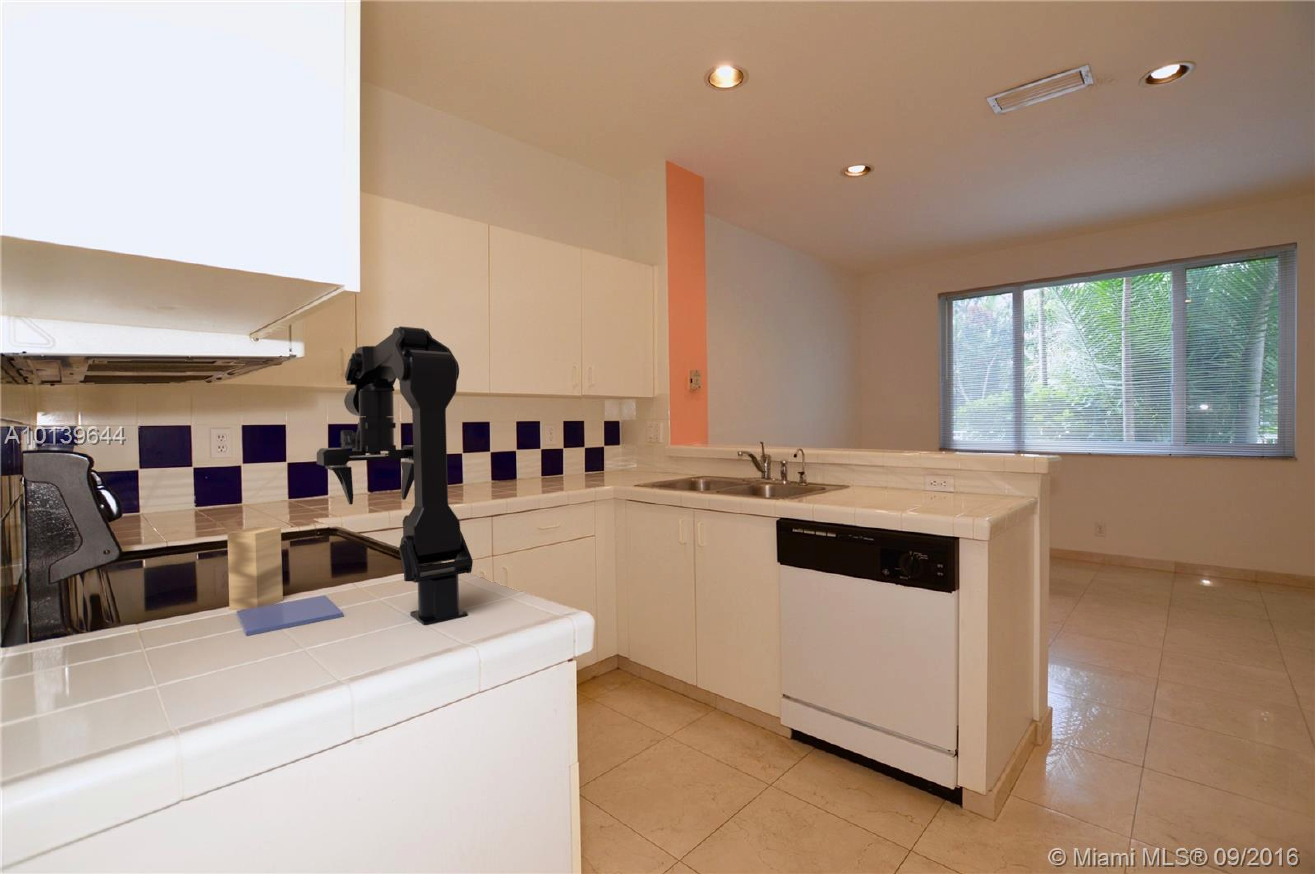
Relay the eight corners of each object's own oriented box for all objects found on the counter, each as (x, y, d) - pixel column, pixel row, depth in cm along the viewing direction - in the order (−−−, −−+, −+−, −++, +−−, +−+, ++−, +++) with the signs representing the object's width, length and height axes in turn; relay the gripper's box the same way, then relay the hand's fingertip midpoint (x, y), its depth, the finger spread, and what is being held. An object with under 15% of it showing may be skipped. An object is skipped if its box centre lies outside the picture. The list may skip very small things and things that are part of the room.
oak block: (282, 600, 98) (280, 527, 97) (257, 610, 93) (255, 533, 92) (256, 599, 99) (254, 527, 98) (229, 609, 94) (227, 532, 93)
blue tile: (343, 616, 89) (343, 612, 89) (246, 635, 82) (246, 631, 82) (325, 598, 98) (325, 595, 98) (236, 614, 91) (236, 610, 91)
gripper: (412, 416, 122) (413, 492, 122) (308, 416, 109) (310, 501, 110) (433, 417, 113) (434, 499, 114) (323, 417, 101) (325, 509, 102)
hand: (377, 501), depth 110 cm, fingers open, 9 cm apart
